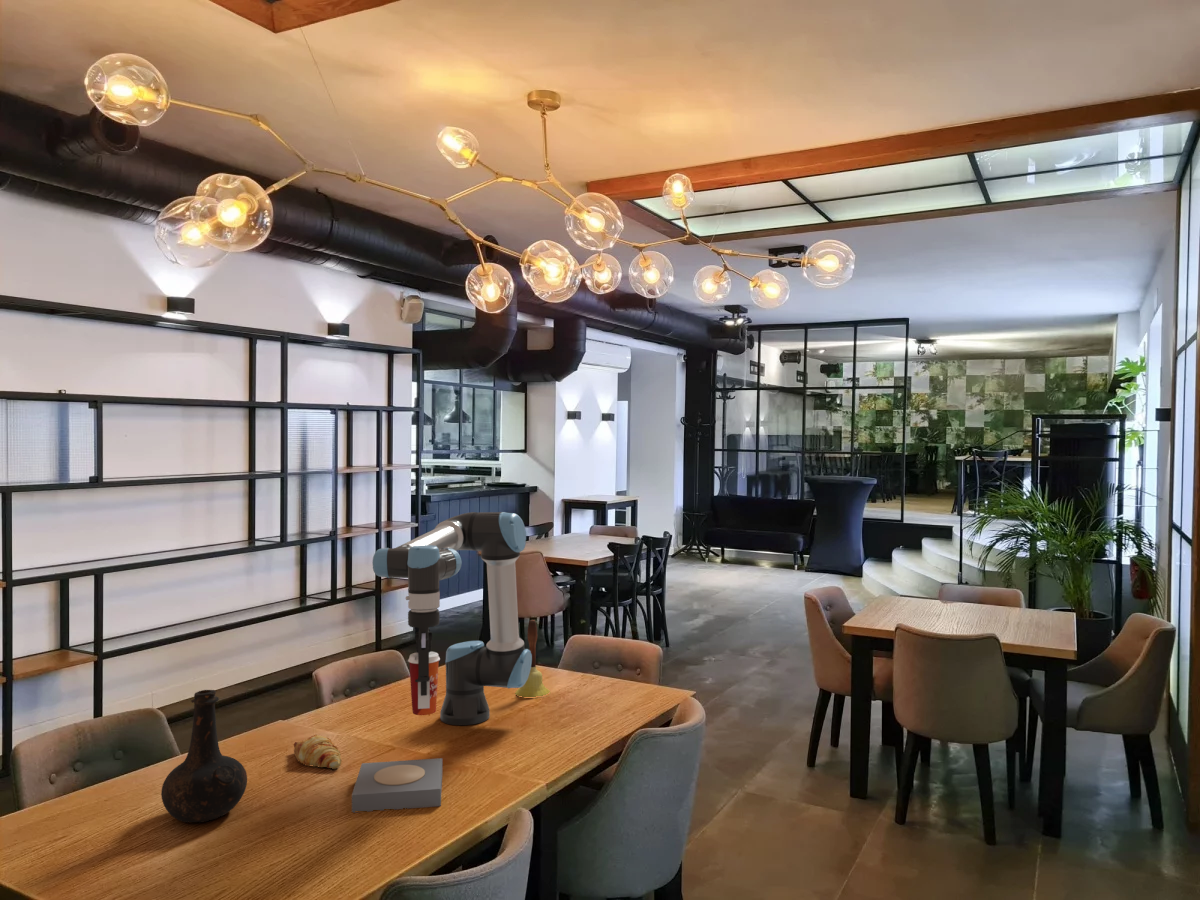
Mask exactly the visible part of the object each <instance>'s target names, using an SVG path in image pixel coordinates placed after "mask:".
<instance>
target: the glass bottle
mask: <svg viewBox="0 0 1200 900" xmlns="http://www.w3.org/2000/svg"><path fill="white" fill-rule="evenodd" d="M216 693H217V691H216V690H214V689H203V690H202V689H201V690H198V691H196V692H195V693H194V694H193V698H194V699H192V700H190V702H191V703H193V704H194V705H193V721H192V730H191V735H190V736H191V737H190V742H189V747H188V750H187V751H188V752H187V756H186V757H185V759H184V760H183V762H182V763H180V764H178V765H177V766H175V767H174V768H173V769H172V770H171V771H170V772H169V773H168V775H167V776H166V778H165V779H164V781H163V784H162V786H161V801H162V804H163V806H164V808H165V810H166V812H168V814H169V815H171V816H172V817H173V818H174V819H176V820H178V821H180V822H184V823H188V822H199V823H205V822H208V821H209V820H210V821H212V820H216V819H218V817H219V818H221V817H223V816H225V815H226V814H227V813H229V812H231V811H232V810H233V809H234V808H235V807H236V806H237V805H238V803H239V802H240V800H241V799H242V797H243V796H244V794H245V791H246V789H247V785H248V774H247V771H246V769H245V767H244V765H243V763H241V762H240V761H239V760H237V759H235V758H234V757H231V756H227V755H223V754H222V753H221V751H220V746H219V740H218V731H217V717H216V703H217V702H218V701H219V699H220V698H219V697H218V696H216ZM220 816H221V817H220ZM204 821H205V822H204ZM210 821H209V822H210Z"/></svg>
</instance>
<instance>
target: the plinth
mask: <svg viewBox="0 0 1200 900" xmlns="http://www.w3.org/2000/svg"><path fill="white" fill-rule="evenodd" d="M442 787H443V758H441V757H440V758H426V759H410V760H409V759H408V760H407V759H405V760H393V761H379V762H378V761H376V762H362V763H361V766H360V769H359V772H358V775H357V777H356V781H355V783H354V787H353V790H352V793H351V813H352V812H353V813H356V812H355V811H367V812H374V811H373V810H380V811H385V810H384V809H394V810H406V808H407V809H417V808H419V809H420V808H431V807H432V808H433V807H442V806H441V805H442ZM403 808H405V809H403Z"/></svg>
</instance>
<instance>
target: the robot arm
mask: <svg viewBox="0 0 1200 900" xmlns="http://www.w3.org/2000/svg"><path fill="white" fill-rule="evenodd" d="M524 523H525V522H524V521H523V519H522V518H521V516H519V515H518V514H517V513H513V512H505V511H496V512H495V511H488V512H487V511H486V512H485V511H483V512H477V511H476V512H475V511H471V512H465V513H461V514H458V515H455V516H452V517H450V518H447V519H445V520H443V521H441V522H439V523H437V524H436V526H435V527H434V529H432V530H430V531H428V532H426V533H424V534H421V535H420V536H417V537H415V538H413V539H411V540H409V541H407V542H405V543H403V544H400V545H398V546H397V547H393V548H392V547H391V548H389V547H385V548H383V547H382V548H379V549H377V550H376V551H375V553H374V554H373V557H372V561H371V562H372V569H373V573H374V574H375V575H376V577H377V576H378V577H381V578H387V579H391V578H393V579H407V587H408V589H407V592H408V593H407V594H408V596H407V595H406V596H405V600H406V601H408V603H407V605H408V606H407V607H408V609H410V610H408V612H407V625H408V626H409V627H410V628H414V629H415V628H418V631H417V632H415V643H416V652H417V653H418V679H415V682H418V709H424V708H430V680H429V653H430V652H432V641H433V631H431V630H430V628H433V627H437V626H439V625H440V610H439V607H440V604H441V603H440V602H441V599H440V597H441V596H440V593H441V592H440V581H442V580H446V579H450V578H452V577H453V576H456V575H457V574H458V572H459V571H460V570H461V568H462V565H463V564H462V563H463V561H462V558H461V555H460V554H459V552H458V551H475V552H476V551H477V552H480V553H481V554H480V555H481V557H480V559H481V560H482V561H483V562H484V563H486V574H487V591H488V592H487V593H488V610H489V611H488V612H489V629H490V632H489V633H490V640H489V641H487V643H486V645H485V643H484V642H483V641H482V640H468V641H463V642H458V643H454V644H452V645H450V646H449V647H448V648H447V649H446V651H445V661H444V662H445V696H444V700H443V702H442V706H441V709H440V713H439V714H440V715H439V717H440V721H441V723H444V724H447V725H452V726H471V725H476V724H480V723H483V722H486V721H487V720H488V719H490V713H491V712H490V706H489V703H488V701H487V698H486V695H485V689H484V688H485V687H492V688H493V687H494V688H503V689H504V688H505V689H519V688H520V687H522V686H523V685H524V684H525V683H526V681H527V679H528V676H529V673H530V670H531V664H532V654H531V651H530V650H529V648H525V641H524V640H523V639H522V637H520V632H519V629H520V628H519V613H518V612H519V611H518V610H519V609H518V592H517V591H518V590H517V589H518V588H517V572H516V571H517V569H516V567H517V566H516V561H517V560H518V559H519V557H520V556H521V553H522V552H523V551H524V550H525V548H526V545H527V543H526V541H527V532H526V527H525V524H524ZM424 675H426V676H424Z"/></svg>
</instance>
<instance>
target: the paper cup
mask: <svg viewBox="0 0 1200 900" xmlns="http://www.w3.org/2000/svg"><path fill="white" fill-rule="evenodd" d="M440 660H441V658H440V656H439V653H438V652H436V651H431V652H430V653H429V680H430V708H424V709H418V682H415V679H418V653H417V651H416V652H414V653H411V654H410V655H409V658H408V659H407V662H408V663H409V677H410V678H409V679H410V680H409V681H410V697H411V708H412V709H411V710H412V714H413V715H415V716H416V715H417V716H427V715H428V716H429V715H432V714H435V713H436V710H437V698H438V682H439V681H438V678H439V661H440ZM424 676H426V675H424Z"/></svg>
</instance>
